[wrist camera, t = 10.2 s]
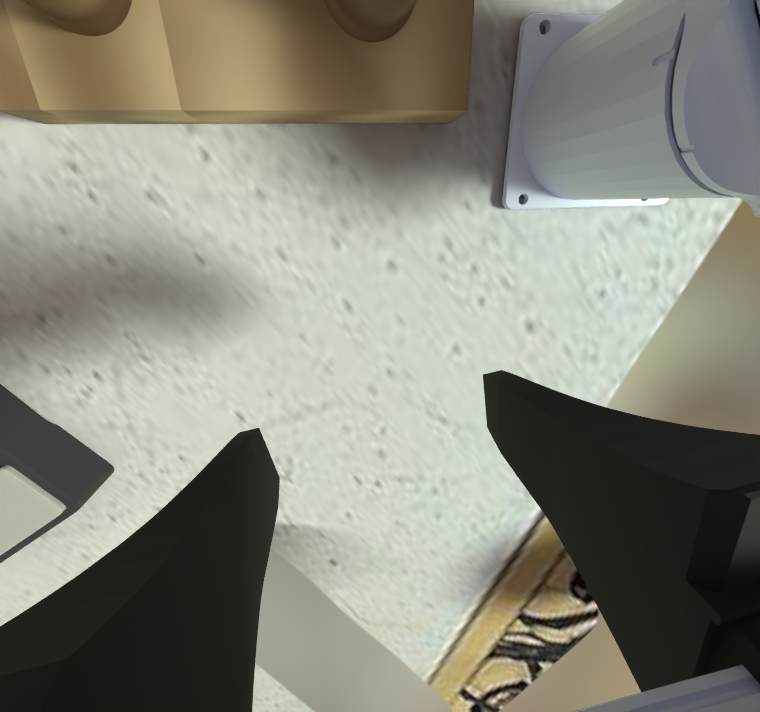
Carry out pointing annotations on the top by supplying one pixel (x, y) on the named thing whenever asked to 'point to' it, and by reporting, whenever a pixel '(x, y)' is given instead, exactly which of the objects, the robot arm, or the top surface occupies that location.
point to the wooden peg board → (235, 61)
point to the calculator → (40, 474)
